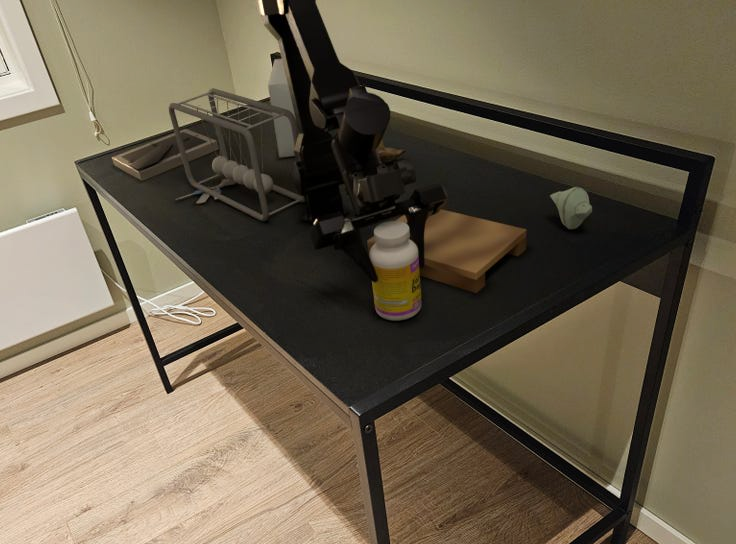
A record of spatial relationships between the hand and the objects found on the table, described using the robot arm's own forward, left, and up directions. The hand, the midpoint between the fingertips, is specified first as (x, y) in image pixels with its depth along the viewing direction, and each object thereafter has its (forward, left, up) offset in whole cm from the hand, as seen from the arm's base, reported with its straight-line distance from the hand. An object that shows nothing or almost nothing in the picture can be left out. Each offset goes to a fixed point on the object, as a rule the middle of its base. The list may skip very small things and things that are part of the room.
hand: (399, 274), depth 89 cm
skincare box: (-65, +44, -7) cm, 79 cm away
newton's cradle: (-53, +18, -7) cm, 56 cm away
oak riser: (-4, +17, -7) cm, 18 cm away
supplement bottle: (-1, +1, -7) cm, 7 cm away
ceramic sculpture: (-39, +39, -7) cm, 55 cm away
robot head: (+9, +33, -7) cm, 35 cm away
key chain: (-60, +15, -7) cm, 62 cm away
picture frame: (-89, +24, -7) cm, 92 cm away
